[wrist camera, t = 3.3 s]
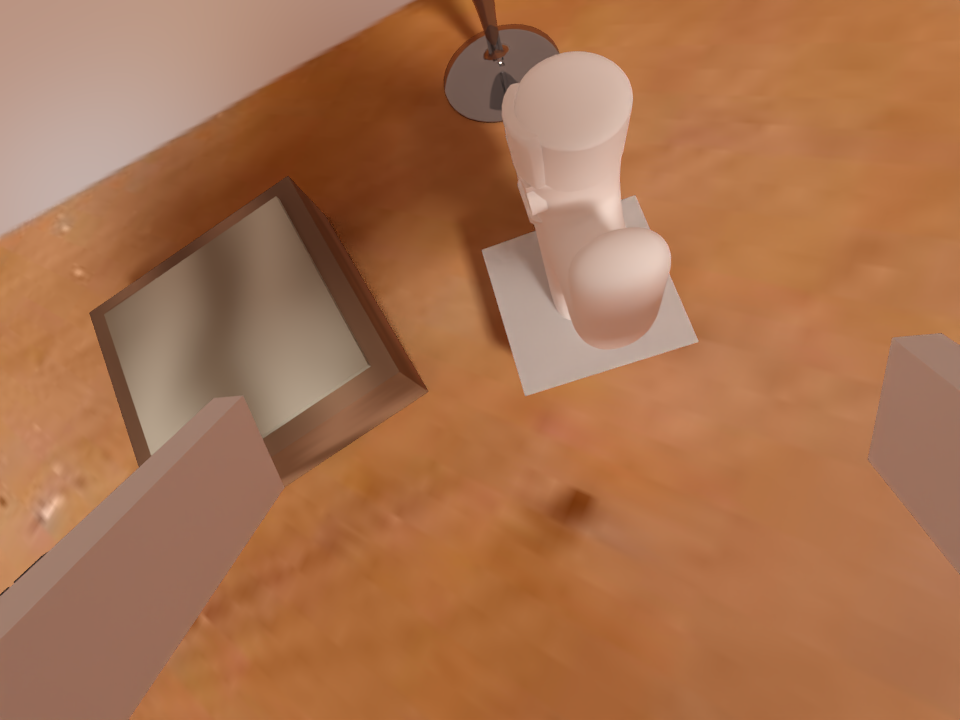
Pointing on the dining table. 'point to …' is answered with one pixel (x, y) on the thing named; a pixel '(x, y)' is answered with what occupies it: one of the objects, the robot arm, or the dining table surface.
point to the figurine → (579, 232)
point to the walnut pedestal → (257, 337)
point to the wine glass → (492, 64)
